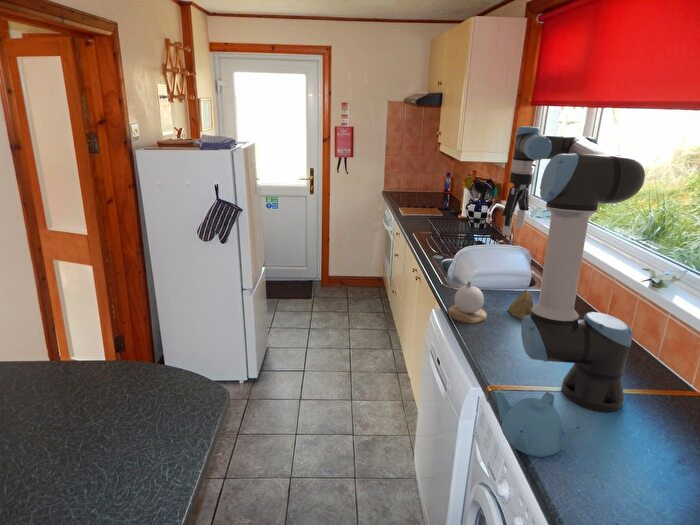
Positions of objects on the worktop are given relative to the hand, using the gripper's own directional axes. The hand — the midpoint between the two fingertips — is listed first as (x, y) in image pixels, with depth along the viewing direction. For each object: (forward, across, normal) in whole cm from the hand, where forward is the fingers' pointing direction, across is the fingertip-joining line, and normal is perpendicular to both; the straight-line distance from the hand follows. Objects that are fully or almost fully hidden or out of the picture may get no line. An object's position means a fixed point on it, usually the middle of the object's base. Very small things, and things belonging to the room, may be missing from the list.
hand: (512, 230), depth 169 cm
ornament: (+31, -13, +8) cm, 34 cm away
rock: (+32, -1, -8) cm, 33 cm away
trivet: (+32, -13, +8) cm, 35 cm away
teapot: (+32, -67, -32) cm, 81 cm away
